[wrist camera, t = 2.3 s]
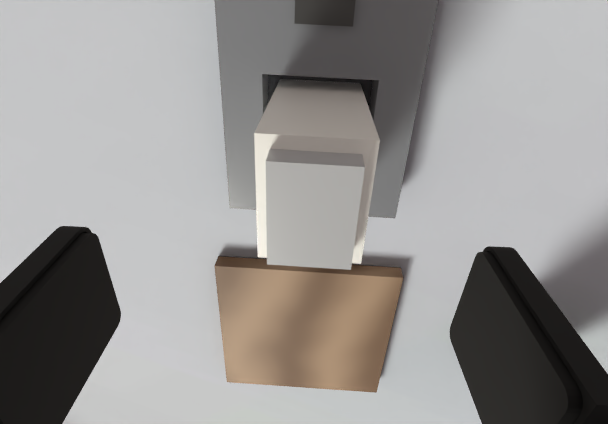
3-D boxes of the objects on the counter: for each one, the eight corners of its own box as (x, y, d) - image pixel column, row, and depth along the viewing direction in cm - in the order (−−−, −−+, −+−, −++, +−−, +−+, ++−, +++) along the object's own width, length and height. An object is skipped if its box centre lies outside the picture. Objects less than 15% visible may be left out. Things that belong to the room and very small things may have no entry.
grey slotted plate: (460, -183, 14) (485, -213, 12) (389, 200, 22) (396, 223, 20) (214, -192, 14) (194, -224, 12) (236, 190, 22) (227, 212, 20)
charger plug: (360, 83, 19) (384, 152, 11) (349, 174, 21) (363, 281, 14) (280, 78, 19) (248, 144, 11) (279, 170, 21) (253, 274, 14)
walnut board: (400, 267, 25) (403, 277, 24) (375, 381, 31) (376, 392, 30) (218, 256, 25) (214, 265, 24) (229, 371, 31) (227, 381, 30)
